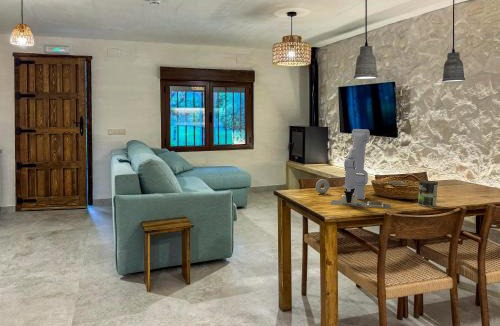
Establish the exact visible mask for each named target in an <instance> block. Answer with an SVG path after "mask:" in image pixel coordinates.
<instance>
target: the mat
mask: <svg viewBox="0 0 500 326" xmlns="http://www.w3.org/2000/svg"><path fill="white" fill-rule="evenodd" d="M367 202H368V201H366V202H365V201H357V205H353V204H341V199H340V200H338V199H332V200H331V202H330V205H335V206H345V207H346V206H348V207H349V206H352V207H359V208H360V207H362V208H368V207H367ZM369 205H376V206H382V204H378V203H369ZM391 207H392V205H391V203H383V208H382V209H387V210H390V209H391ZM373 208H375V207H373ZM375 209H376V208H375Z"/></svg>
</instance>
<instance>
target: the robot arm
mask: <svg viewBox="0 0 500 326" xmlns="http://www.w3.org/2000/svg"><path fill="white" fill-rule="evenodd" d="M370 134H371V133H370V130H369V129H365V128H364V129H362V128H361V129H359V128H353V129H352V131H351V138H352V141H353V142H352V146H351V148H350V149H349V150H348V155H347V156H346V157H347V158H346V159H344V163H343V166H344V167H343V168H344V171H345V174H344V175H345V176H344V185H342V188H345V190H344V195H346V201H347V203H351V199H352V195H355V196H357V200H366V195H365V191H366V185H367V184H368V182H369V173H368V172H367V171H366V170H365V158H366V146H367V144H369V142H370Z"/></svg>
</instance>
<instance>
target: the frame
mask: <svg viewBox="0 0 500 326" xmlns="http://www.w3.org/2000/svg"><path fill="white" fill-rule="evenodd" d="M366 202H367V207H366V208H374V207H375V209H376V208H377V209H384V208H383V204H384V201H378V200H377V201H376V200H375V201H374V200H368V201H366ZM369 203H378V204H382V206H376V205H369Z"/></svg>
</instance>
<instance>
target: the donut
mask: <svg viewBox="0 0 500 326" xmlns="http://www.w3.org/2000/svg"><path fill="white" fill-rule="evenodd" d="M322 185H323V188H322V187H321V186H322ZM329 189H330V183H329V181H328V180H327V179H324V178H321V179H318V181H316V183H315V191H316V192H317V193H318V194H321V195H322V194H326V193H328V192H329Z"/></svg>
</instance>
